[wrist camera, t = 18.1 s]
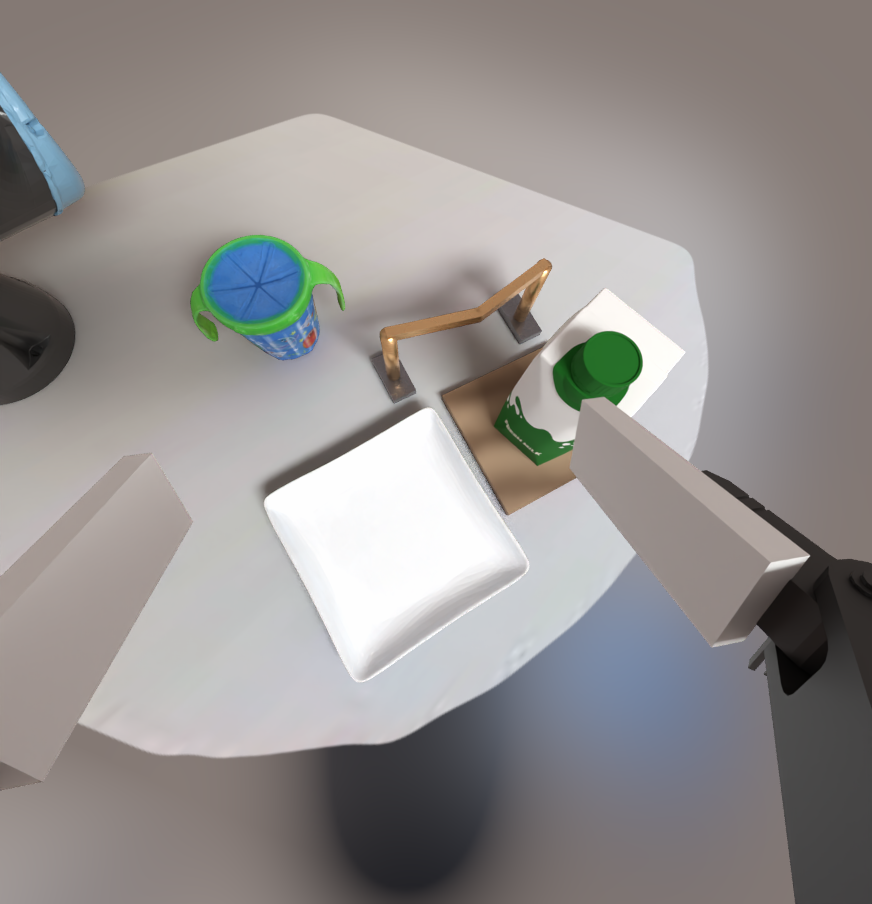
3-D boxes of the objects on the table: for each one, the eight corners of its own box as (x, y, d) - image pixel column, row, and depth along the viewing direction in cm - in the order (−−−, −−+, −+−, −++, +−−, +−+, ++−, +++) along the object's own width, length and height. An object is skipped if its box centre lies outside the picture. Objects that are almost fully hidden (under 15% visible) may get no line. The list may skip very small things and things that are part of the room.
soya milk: (482, 426, 43) (538, 337, 23) (530, 376, 44) (620, 254, 25) (538, 477, 42) (646, 429, 22) (585, 423, 43) (723, 335, 24)
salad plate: (361, 677, 37) (355, 691, 34) (269, 501, 41) (256, 498, 37) (526, 566, 41) (536, 569, 37) (429, 412, 44) (430, 402, 41)
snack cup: (228, 383, 43) (172, 339, 33) (222, 306, 45) (168, 243, 35) (358, 363, 45) (342, 315, 35) (346, 290, 47) (328, 224, 37)
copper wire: (372, 362, 45) (359, 312, 35) (516, 298, 48) (543, 234, 38) (394, 403, 44) (387, 364, 34) (539, 335, 47) (573, 279, 37)
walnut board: (441, 398, 44) (442, 395, 43) (550, 346, 47) (553, 342, 46) (506, 515, 42) (508, 514, 41) (618, 453, 44) (623, 451, 43)
